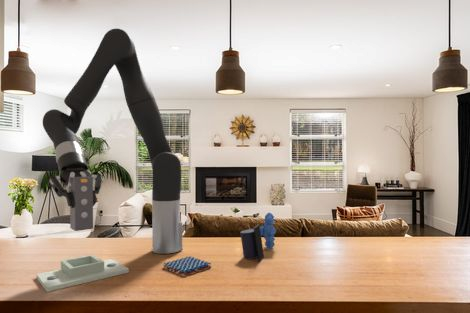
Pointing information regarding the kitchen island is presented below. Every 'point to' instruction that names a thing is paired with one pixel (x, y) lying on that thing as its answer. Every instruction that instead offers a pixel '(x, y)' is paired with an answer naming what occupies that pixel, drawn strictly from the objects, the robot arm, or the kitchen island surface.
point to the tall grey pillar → (82, 203)
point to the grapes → (268, 230)
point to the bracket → (80, 272)
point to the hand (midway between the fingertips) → (83, 204)
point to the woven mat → (186, 266)
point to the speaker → (252, 243)
